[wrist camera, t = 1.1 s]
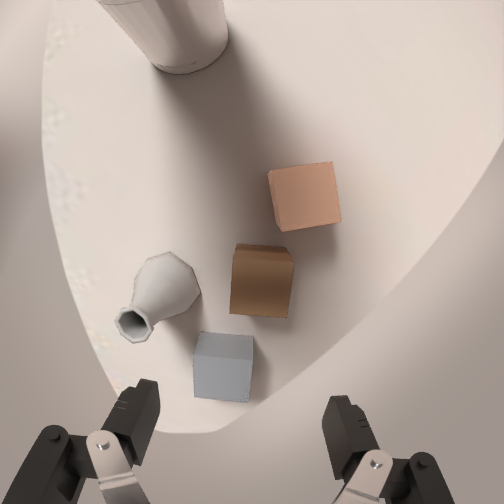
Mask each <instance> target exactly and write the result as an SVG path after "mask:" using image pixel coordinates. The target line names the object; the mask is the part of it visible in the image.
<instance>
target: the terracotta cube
mask: <svg viewBox="0 0 504 504" xmlns="http://www.w3.org/2000/svg"><path fill="white" fill-rule="evenodd" d="M267 175H268V180H269V186H270V191H271V197H272V203H273V208H274V214H275V220H276V224H277V225H278V227H279V228H280V230H281V231H282V232H285V231H291V230H296V229H302V228H308V227H314V226H320V225H326V224H332V223H338V222H341V215H340V208H339V200H338V194H337V187H336V181H335V175H334V169H333V164H332V161H331V162H323V163H315V164H308V165H300V166H294V167H287V168H280V169H274V170H271V171H270V172H269V173H268V174H267Z"/></svg>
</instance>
